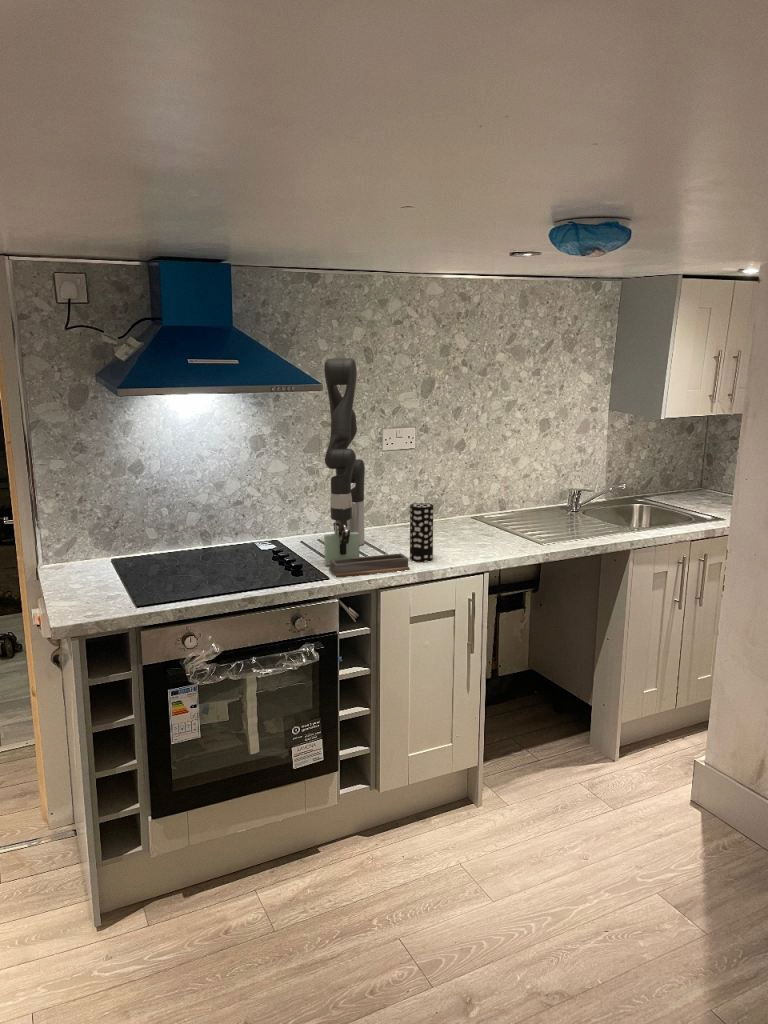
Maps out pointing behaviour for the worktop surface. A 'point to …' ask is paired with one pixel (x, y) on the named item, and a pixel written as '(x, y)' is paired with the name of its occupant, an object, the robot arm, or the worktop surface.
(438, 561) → the worktop surface
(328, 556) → the door panel
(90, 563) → the worktop surface
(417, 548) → the spotted tube
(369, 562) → the door track
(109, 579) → the worktop surface
